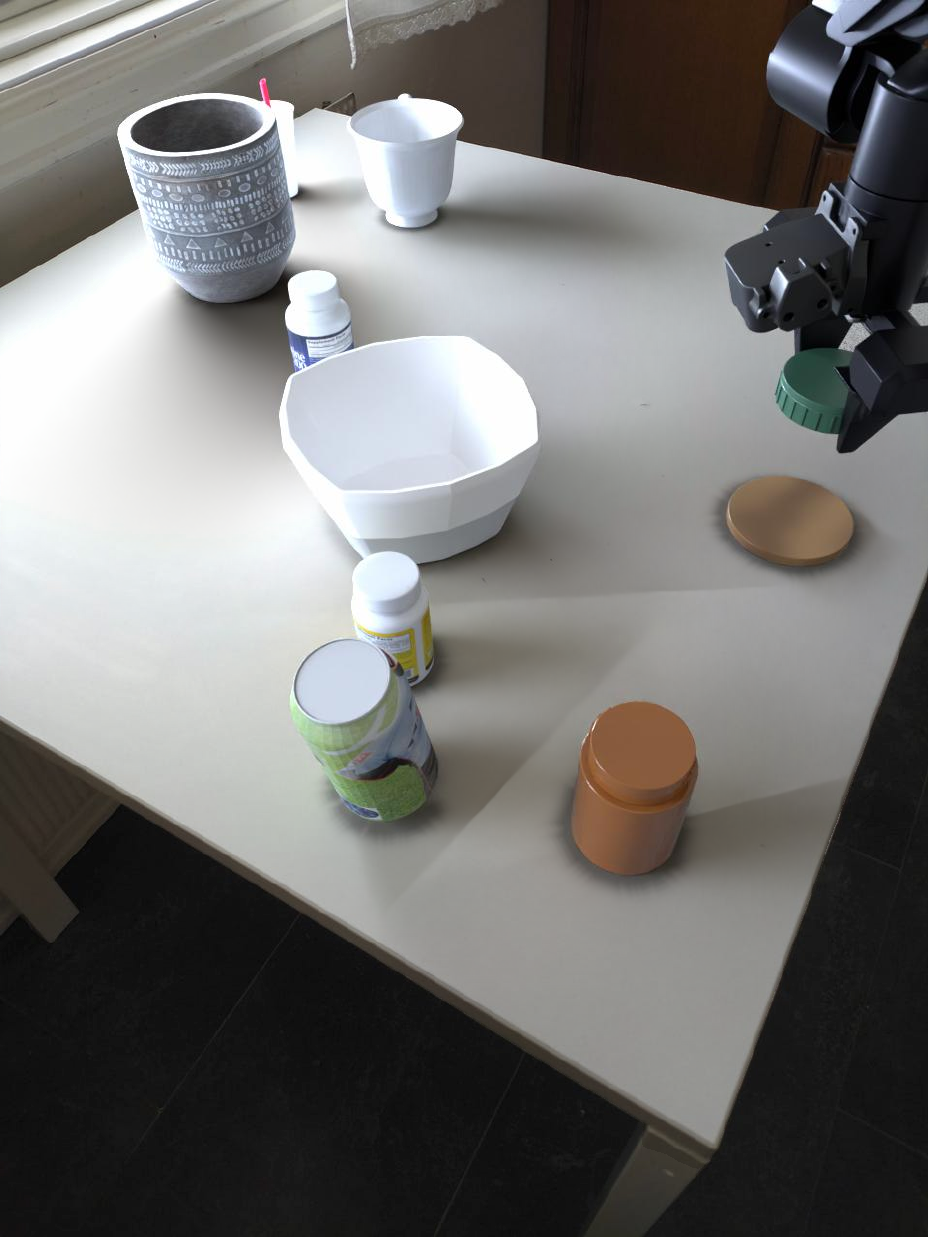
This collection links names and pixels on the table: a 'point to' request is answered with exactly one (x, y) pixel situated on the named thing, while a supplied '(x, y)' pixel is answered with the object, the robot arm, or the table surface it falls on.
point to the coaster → (789, 521)
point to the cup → (285, 136)
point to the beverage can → (364, 728)
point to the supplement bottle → (394, 611)
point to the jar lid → (814, 389)
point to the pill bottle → (317, 319)
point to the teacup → (407, 156)
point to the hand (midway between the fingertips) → (823, 418)
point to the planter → (212, 193)
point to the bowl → (413, 443)
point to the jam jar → (633, 787)
